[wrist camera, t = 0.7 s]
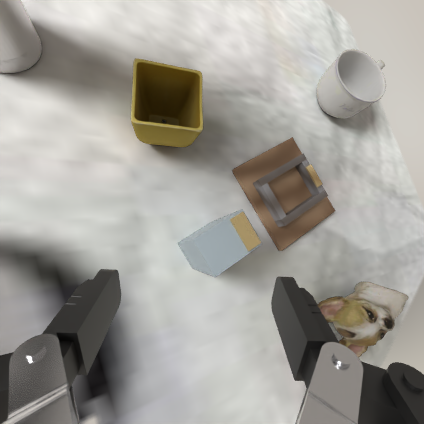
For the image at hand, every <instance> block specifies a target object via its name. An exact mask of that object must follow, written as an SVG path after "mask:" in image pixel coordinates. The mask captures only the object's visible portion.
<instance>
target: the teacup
mask: <svg viewBox="0 0 424 424" xmlns="http://www.w3.org/2000/svg"><path fill="white" fill-rule="evenodd" d="M384 66H385V64H384V62H383V61H382V60H380V61H378V62H376V61H375V60H374V59H373V58H371V57H370V56H369V55H368V54H366V53H364V52H362V51H359V50H355V49H351V50H345V51H343V52H342V53H341V54H340V55H339V56H338V58H337V59H336V60H335V62H334V63H333V64H332V65H331V66H330V67H329V68H328V70H327V71H326V72H325V73H324V74H323V76H322V77H321V79H320V80H319V83H318V85H317V98H318V102H319V105H320V107H321V108H322V109H323V111H324V112H326V113H327V114H329V115H331V116H333V117H336V118H349V117H352V116H354V115H356V114H357V113H359V112H361V111H362V110H364V109H365V108H367V107H368V106H370V105H371V104H372V103H374V102H376V101H378V100H379V99H380V98H381V97H382V96H383V95H384V93H385V89H386V82H385V78H384V74H383V72H382V70H381V69H382V68H383V67H384Z"/></svg>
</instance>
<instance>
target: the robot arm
mask: <svg viewBox="0 0 424 424" xmlns="http://www.w3.org/2000/svg"><path fill="white" fill-rule="evenodd" d="M41 52H42V44H41V41H40V38H39V36H38V34H37V32H36V30H35V28H34V26H33V24H32V22H31V20H30V18H29V16H28V14H27V12H26V10H25V8H24V6H23V4H22V2H21V0H0V72H1V73H15V72H21V71H24V70H26V69H28V68H30V67H32V66H33V65H34V64H35V63H36V62H37V61H38V59H39V58H40V56H41ZM120 301H121V289H120V281H119V273H118V271H117V270H108V269H101V270H100V271H99V272H98V273H97V275H96V276H95V278H94V279H93V280H89V279H88V280H87V281H85V282H84V283H82V284H81V285H80V286H78V287H77V289H76V290H75V291H74V293H73V294H72V295H71V297H70V298H69V299H68V301H67V302H66V304H65V305H64V306H63V307H62V308H61V310H60V311H59V312H58V314H57V315H56V316H55V318H54V319H53V320H52V322H51V323H50V324H49V326H48V327H47V328H46V330H45V331H44V332H43V333H42V334H41V335H38V336H35V337H33V338H31V339H29V340H27V341H26V342H24V343H23V344H21V345H20V346H19V347H18V348H17V349H16V350H15V351H14V352H13V353H9V354H5V355H1V356H0V424H2V423H3V424H80V422H79V417H78V412H77V407H76V402H75V397H74V392H73V387H72V383H73V381H74V379H75V377H76V376H77V375H87V374H88V372H89V370H90V368H91V365H92V363H93V361H94V359H95V357H96V355H97V353H98V350H99V348H100V346H101V344H102V342H103V340H104V338H105V335H106V333H107V331H108V329H109V327H110V325H111V323H112V320H113V318H114V316H115V314H116V312H117V310H118V308H119V305H120ZM272 312H273V315H274V318H275V321H276V325H277V328H278V331H279V334H280V337H281V340H282V343H283V346H284V349H285V352H286V355H287V358H288V361H289V364H290V368H291V371H292V374H293V377H294V380H295V381H304V382H305V385H306V388H307V389H306V392H305V395H304V398H303V401H302V404H301V407H300V410H299V413H298V417H297V420H296V423H295V424H424V375H423V374H422V373H421V372H419V371H418V370H416V369H415V368H413V367H411V366H409V365H406V364H403V363H398V362H395V363H392V364H390V365H389V367H388V369H387V370H385V369H382V368H379V367H376V366H373V365H370V364H367V363H364V362H361V361H360V359H359V358H358V357H357V355H356V354H355V353H354V352H353V351H351V350H350V349H349V348H347V347H346V346H344V345H342V344H340V343H339V341H338V340H337V338H336V336H335V334H334V333H333V331H332V329H331V327H330V326H329V324H328V322H327V321H326V319H325V317H324V315H323V314H322V312H321V310H320V308H319V307H318V306H317V303H316V301H315V300H314V298H313V296H312V295H311V294H310V293H309V292H308V291H306V290H305V289H304V288H299V287H298V285H297V283H296V281H295V280H294V278H293V277H277V279H276V283H275V287H274V292H273V297H272Z"/></svg>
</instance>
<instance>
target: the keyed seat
mask: <svg viewBox="0 0 424 424" xmlns="http://www.w3.org/2000/svg"><path fill="white" fill-rule="evenodd" d="M232 172H233V174H234V175H235V177H236V179H237V180H238V182H239V184H240V185H241V187H242V189H243V191H244V192H245V194H246V196H247V197H248V199H249V201H250V203H251V204H252V206H253V208H254V209H255V211H256V213H257V214H258V216H259V218H260V220H261V221H262V223H263V225H264V226H265V228H266V230H267V232H268V233H269V235H270V237H271V238H272V240H273V242H274V243H275V245H276V247H277V249H278V250H279V251H282V250H284V249H285V248H286V247H288V246H289V245H290V244H292V243H293V242H294V241H296V240H297V239H298V238H300V237H301V236H302V235H304V234H305V233H306V232H308V231H309V230H310V229H312V228H313V227H314V226H316V225H317V224H318V223H320V222H321V221H322V220H324V219H325V218H326V217H328V216H329V215H330V214H332V213H333V212H334V211H335V210H334V208H333V206H332V204H331V203H330V201H329V199H328V198H327V196H328V195H327V193H326V192H325V190H324V188H323V186H322V182H321V180H320V179H319V177H318V175H317V174H316V172H315V170H314V168H313V167H312V165H310V164H309V162H308V161H307V159H306V157H305V156H304V154H302V153H301V151H300V150H299V148H298V146H297V144H296V143H295V141H294V139H293V138H290V139H289V140H287V141H285V142H283V143H281V144H279V145H277V146H276V147H274V148H272V149H270V150H268V151H266V152H264V153H262V154H261V155H259V156H257V157H255V158H253V159H251V160H249V161H248V162H246V163H244V164H242V165H240V166H238V167H236V168H234V169H233V170H232Z"/></svg>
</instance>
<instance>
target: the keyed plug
mask: <svg viewBox="0 0 424 424" xmlns="http://www.w3.org/2000/svg"><path fill="white" fill-rule="evenodd" d="M178 245H179V247H180V248H181V250H182V252H183V253H184V255H185V257H186V259H187V260H188V262H189V264H190V265H191V267H192V268H193V269H195V270H198V271H201V272H203V273H206V274H208V275H211V276H213V277H217V276H218V275H219V274H221V273H222V272H224V271H225V270H226V269H228V268H229V267H231V266H232V265H233V264H235V263H236V262H238V261H239V260H241V259H242V258H243V257H245V256H246V255H248V254H249V253H250V252H252V251H253V250H255V249H256V248H257V247H259V246H260V245H262V242H261V240H260V239H259V237H258V235H257V234H256V232H255V230H254V228H253V227H252V225H251V223H250V222H249V220H248V218H247V217H246V215H245V213H244V211H243V210H242V209H241V210H239V211H237V212H234V213H232V214H229V215H227V216H225V217H222V218H220V219H217V220H215V221H213V222H211V223H209V224H208V225H206V226H204V227H203V228H201V229H199V230H198V231H196V232H194V233H193V234H191V235H189V236H188V237H186V238H185V239H183V240H181V241H180V242H178Z"/></svg>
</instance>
